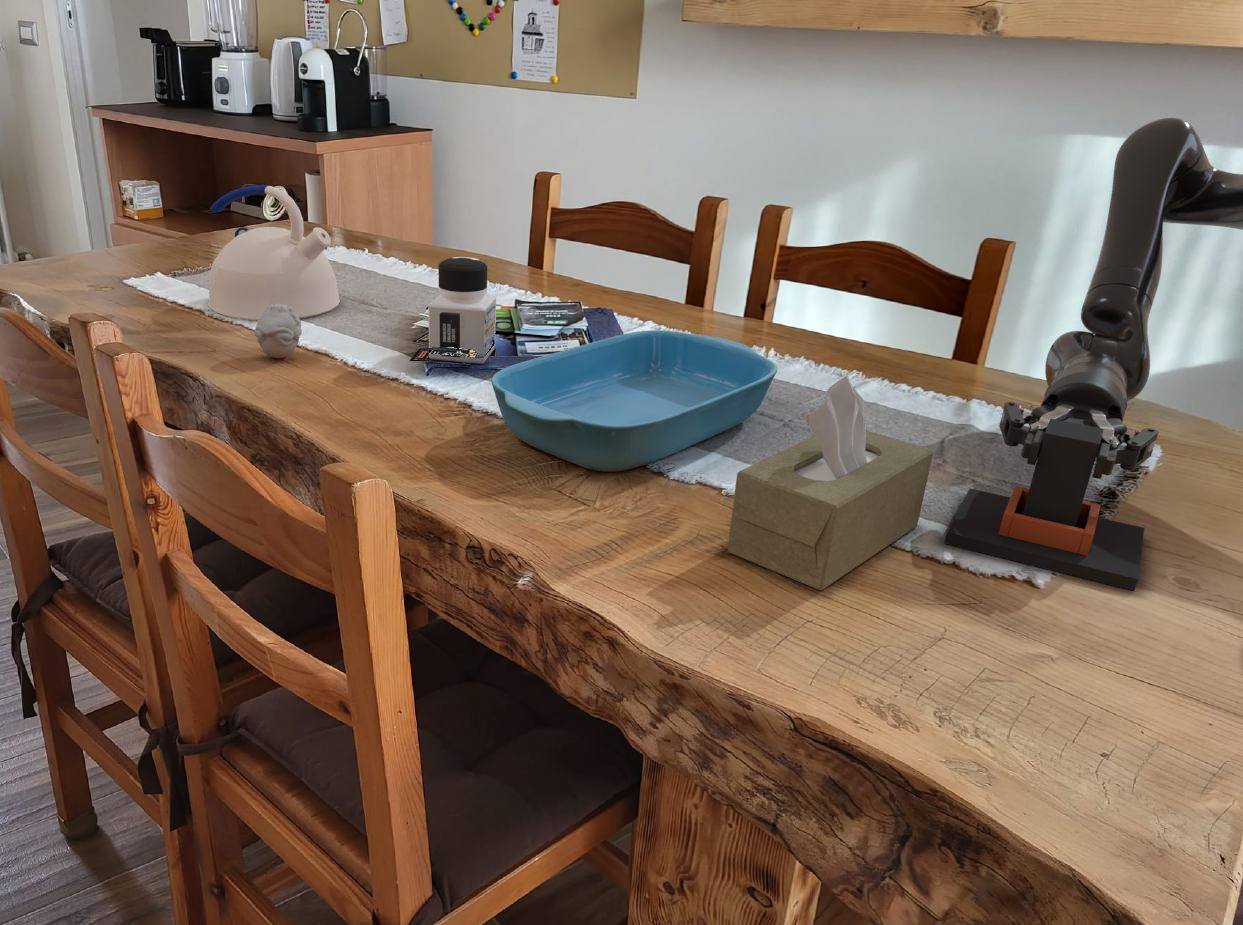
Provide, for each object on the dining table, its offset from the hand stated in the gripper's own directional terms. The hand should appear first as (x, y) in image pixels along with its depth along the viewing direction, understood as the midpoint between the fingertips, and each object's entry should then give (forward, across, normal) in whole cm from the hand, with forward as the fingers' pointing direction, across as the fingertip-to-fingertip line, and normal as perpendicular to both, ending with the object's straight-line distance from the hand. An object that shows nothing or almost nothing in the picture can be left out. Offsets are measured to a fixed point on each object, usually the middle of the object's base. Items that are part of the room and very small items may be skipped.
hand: (1065, 461), depth 92 cm
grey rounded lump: (-3, +96, -9) cm, 97 cm away
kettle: (-23, +115, -9) cm, 118 cm away
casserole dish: (-7, +45, -9) cm, 46 cm away
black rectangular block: (-3, 0, -8) cm, 8 cm away
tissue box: (+9, +18, -9) cm, 22 cm away
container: (-19, +77, -9) cm, 80 cm away
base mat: (-3, 0, -9) cm, 10 cm away
